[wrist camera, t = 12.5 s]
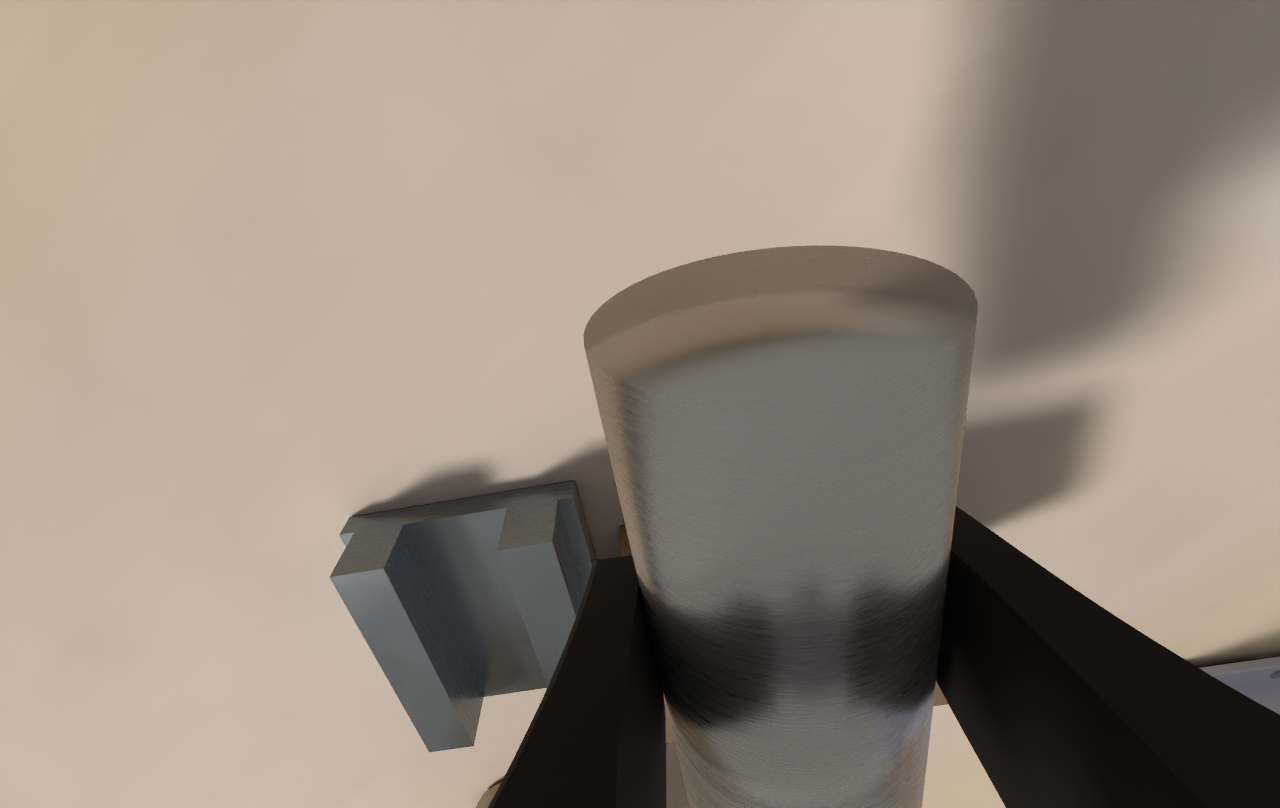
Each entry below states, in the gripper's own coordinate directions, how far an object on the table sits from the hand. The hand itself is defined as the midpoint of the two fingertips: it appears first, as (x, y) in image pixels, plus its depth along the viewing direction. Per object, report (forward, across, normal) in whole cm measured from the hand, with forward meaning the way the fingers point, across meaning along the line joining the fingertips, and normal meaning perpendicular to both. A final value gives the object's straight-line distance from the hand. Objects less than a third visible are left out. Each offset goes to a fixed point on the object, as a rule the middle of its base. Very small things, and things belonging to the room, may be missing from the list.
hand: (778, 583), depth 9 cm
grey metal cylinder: (0, 0, 0) cm, 1 cm away
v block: (+8, +8, +8) cm, 14 cm away
